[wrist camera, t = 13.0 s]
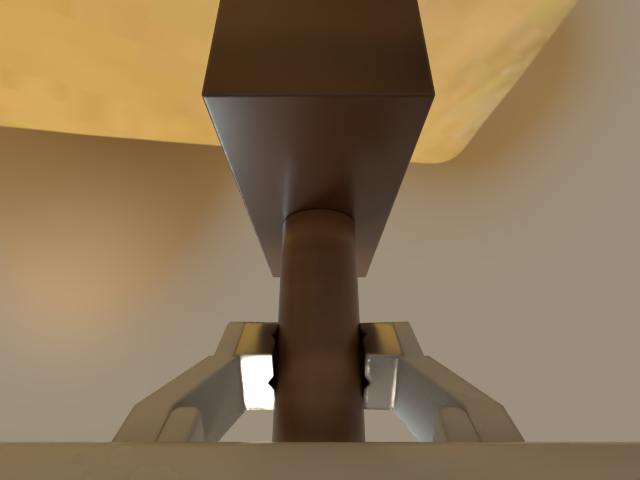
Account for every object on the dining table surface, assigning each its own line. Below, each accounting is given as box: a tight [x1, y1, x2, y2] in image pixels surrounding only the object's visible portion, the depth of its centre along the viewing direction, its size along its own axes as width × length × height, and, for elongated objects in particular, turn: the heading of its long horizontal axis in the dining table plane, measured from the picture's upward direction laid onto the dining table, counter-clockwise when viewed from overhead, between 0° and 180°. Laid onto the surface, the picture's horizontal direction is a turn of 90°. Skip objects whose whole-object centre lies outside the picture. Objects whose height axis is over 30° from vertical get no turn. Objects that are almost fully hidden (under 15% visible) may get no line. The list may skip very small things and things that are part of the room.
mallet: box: [202, 0, 435, 442], centre depth 10 cm, size 11×4×12 cm, turn 0°
